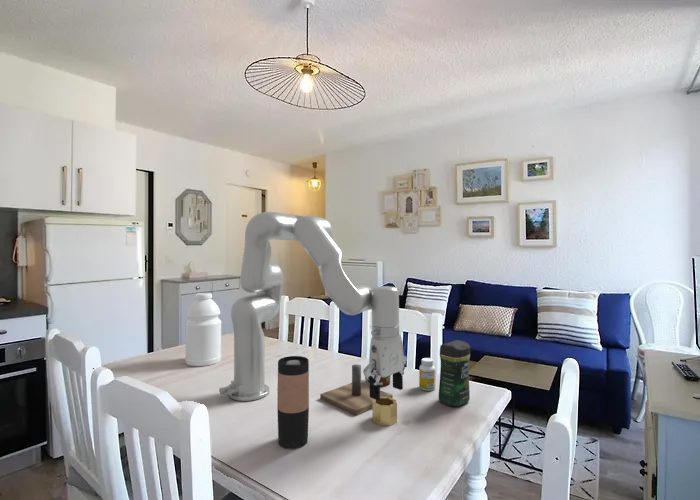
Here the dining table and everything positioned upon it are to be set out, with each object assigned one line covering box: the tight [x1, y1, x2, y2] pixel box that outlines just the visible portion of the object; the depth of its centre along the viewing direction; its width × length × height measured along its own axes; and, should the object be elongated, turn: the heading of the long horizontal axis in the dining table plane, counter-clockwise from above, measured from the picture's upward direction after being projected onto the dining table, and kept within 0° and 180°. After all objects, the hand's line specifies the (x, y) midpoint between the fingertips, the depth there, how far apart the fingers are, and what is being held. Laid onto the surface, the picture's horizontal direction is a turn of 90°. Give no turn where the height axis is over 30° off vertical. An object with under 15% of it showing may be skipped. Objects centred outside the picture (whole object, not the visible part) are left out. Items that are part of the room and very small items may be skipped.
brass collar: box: [371, 397, 398, 426], centre depth 104 cm, size 7×7×5 cm
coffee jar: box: [438, 339, 471, 407], centre depth 116 cm, size 10×8×19 cm
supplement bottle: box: [418, 357, 437, 392], centre depth 127 cm, size 5×5×10 cm
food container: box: [374, 375, 392, 388], centre depth 131 cm, size 12×6×10 cm, turn 168°
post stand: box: [319, 364, 394, 417], centre depth 117 cm, size 16×16×10 cm
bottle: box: [184, 292, 223, 367], centre depth 154 cm, size 14×14×28 cm
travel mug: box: [276, 355, 310, 450], centre depth 92 cm, size 8×8×20 cm
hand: (386, 393), depth 103 cm, fingers open, 9 cm apart
